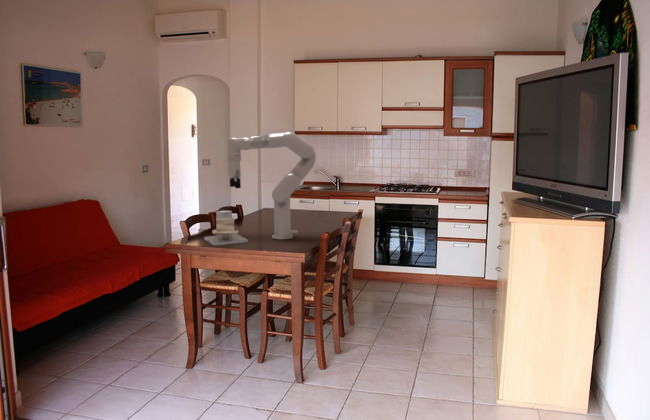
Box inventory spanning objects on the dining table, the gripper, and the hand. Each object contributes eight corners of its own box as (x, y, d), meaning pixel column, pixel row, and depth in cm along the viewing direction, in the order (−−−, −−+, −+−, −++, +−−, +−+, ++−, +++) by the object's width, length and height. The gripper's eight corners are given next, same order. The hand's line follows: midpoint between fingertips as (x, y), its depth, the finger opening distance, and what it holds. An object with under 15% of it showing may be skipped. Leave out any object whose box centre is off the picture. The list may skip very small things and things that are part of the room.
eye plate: (236, 236, 340) (236, 233, 340) (247, 242, 323) (247, 239, 323) (204, 239, 331) (204, 236, 331) (213, 245, 314) (213, 242, 314)
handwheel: (212, 235, 332) (211, 217, 331) (237, 234, 336) (237, 216, 334) (213, 240, 318) (212, 221, 316) (239, 239, 321) (239, 220, 320)
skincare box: (224, 236, 340) (223, 212, 338) (216, 235, 343) (215, 211, 341) (232, 234, 347) (232, 210, 345) (225, 233, 350) (224, 209, 348)
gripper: (223, 158, 336) (224, 186, 339) (232, 159, 321) (233, 189, 324) (235, 157, 340) (236, 185, 342) (245, 159, 325) (246, 188, 327)
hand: (235, 187), depth 333 cm, fingers open, 9 cm apart
